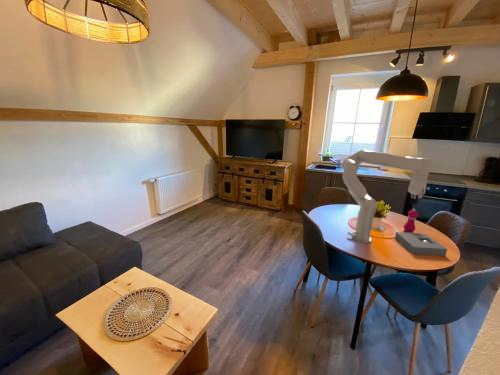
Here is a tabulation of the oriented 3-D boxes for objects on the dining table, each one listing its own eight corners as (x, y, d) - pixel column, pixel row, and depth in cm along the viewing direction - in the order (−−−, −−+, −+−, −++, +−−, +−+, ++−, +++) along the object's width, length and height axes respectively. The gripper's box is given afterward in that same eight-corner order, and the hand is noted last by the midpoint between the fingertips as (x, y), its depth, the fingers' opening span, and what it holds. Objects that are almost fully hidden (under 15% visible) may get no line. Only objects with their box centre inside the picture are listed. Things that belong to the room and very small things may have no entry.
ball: (433, 246, 143) (426, 250, 144) (428, 243, 148) (421, 247, 149) (429, 240, 142) (422, 244, 143) (424, 237, 147) (417, 241, 148)
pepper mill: (415, 235, 161) (422, 211, 156) (405, 234, 163) (411, 210, 157) (411, 231, 168) (417, 207, 163) (400, 230, 170) (406, 206, 164)
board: (411, 253, 138) (413, 246, 137) (394, 238, 157) (396, 232, 156) (445, 256, 136) (447, 249, 135) (423, 240, 156) (425, 233, 154)
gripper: (406, 174, 146) (401, 200, 151) (421, 179, 131) (414, 207, 136) (418, 174, 145) (412, 200, 150) (434, 180, 131) (427, 208, 136)
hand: (413, 203), depth 143 cm, fingers closed
